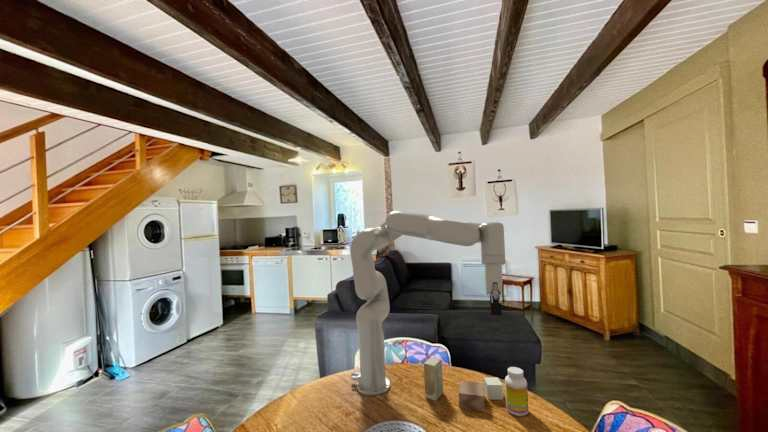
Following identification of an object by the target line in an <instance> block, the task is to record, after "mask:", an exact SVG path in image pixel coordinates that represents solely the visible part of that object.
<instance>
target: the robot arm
mask: <svg viewBox="0 0 768 432" xmlns="http://www.w3.org/2000/svg"><path fill="white" fill-rule="evenodd" d="M402 236H407V237H413V238H417V239H424V240H428V241H434V242H440V243H444V244H451V245H456V246H462V247H472V246H474V245H475V244H479V243H480V250H481V252H480V253H481V254H480V255H481V264H482V265H484V273H485V274H484V276H485V277H484V281H485V294H486V296H489V305H490V315H492V316H499V317H501V316H502V315H503V313H502V312H503V311H502V302H501V296H502V295H503V265H506V247H505V246H506V245H505V242H506V241H505V227H504V224H503V223H502V222H497V221H496V222H483V223H480V222H479V223H478V222H461V221H455V220H454V221H453V220H447V219H443V218H438V217H436V216H433V215H428V214H421V213H415V212H414V213H413V212H408V211H403V210H393V211H391V212H390V213H388V214H387V216H386V217H385V220H384V222H383V223H382V224H380V225H378V226H377V227H369V228H364V230H361V231H359V232H358V233H357V234H356V235H355V236H354V237H353V239H352V241H351V243H350V248H349V249H350V250H349V253H350V259H351V266H352V274H353V281H354V289H355V294H356V295H357V297H358V298H359V299H361V300H364V301H366V302H365V303H364V304H362V305H361V306H360V308H359V309H358V310H357V312H356V317H355V322H356V327H357V333H358V347H359V348H358V349H359V350H358V351H359V372H357V371H352V372H351V374H350V377H351V380H352V381H357V382H356V390H357V391H358V392H359V393H360V394H362V395H365V396H372V397H373V396H379V395H382V394H384V393H386V392H387V391H388V390H389V389H390V388H391V387H390V386H391V382H390V380H389V379H388V378H387V376H386V359H385V358H386V357H385V353H386V352H385V335H384V331H383V326H382V325H383V322H384V321H385V320H386V318H387V317H388V316H389V314H390V309H391V307H390V299H389V292H388V285H387V280H386V278H385V276H384V275H383V273H382V272H380V271H378V270H376V266H375V265H376V264H375V260H374V257H373V255H372V253H373V252H374V251H377V250H380V249H384V248H385V247H388V246H389V245H390V244H391V243H393V242H394V241H396V240H397V239H400V238H401V237H402Z"/></svg>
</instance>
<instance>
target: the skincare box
mask: <svg viewBox="0 0 768 432" xmlns="http://www.w3.org/2000/svg"><path fill="white" fill-rule="evenodd" d="M442 363H443V362H442V359H441V358H438V357H434V356H430V357H428V359H427V360H425V361H424V362H423V376H424V378H423V379H424V396H425V398H427V399H430V400H433V401H435V402H436V401H438V399H439V398H440V397H441V396H442V395H443V393H444V381H443V364H442Z"/></svg>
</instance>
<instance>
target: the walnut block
mask: <svg viewBox="0 0 768 432" xmlns="http://www.w3.org/2000/svg"><path fill="white" fill-rule="evenodd" d="M485 398H486V397H485V392H484V382H476V381H468V380H460V381H459V387H458V407H459V409H467V410H474V411H480V412H481V411H482V412H485V410H486V409H485V406H486V405H485Z"/></svg>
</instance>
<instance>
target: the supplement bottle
mask: <svg viewBox="0 0 768 432" xmlns="http://www.w3.org/2000/svg"><path fill="white" fill-rule="evenodd" d="M504 388H505V390H504V391H505V393H504V394H505V408H506V410H507V411H508V413H510V414H512V415H514V416H517V417H524V416H526V415H528V413H529V397H528V396H529V391H528V382H527V379H526V378H525V377H524V370H523V369H521V368H520V367H518V366H517V367H516V366H509V367H508V368H507V375H506V376H505V378H504Z"/></svg>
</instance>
